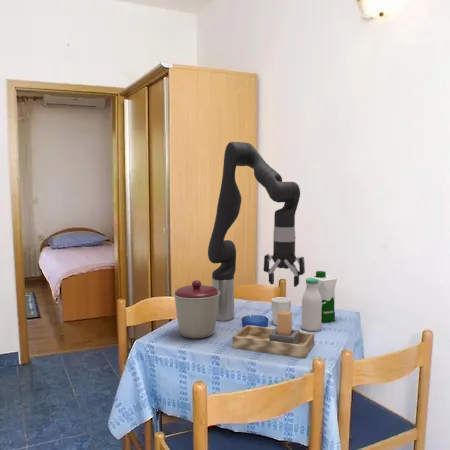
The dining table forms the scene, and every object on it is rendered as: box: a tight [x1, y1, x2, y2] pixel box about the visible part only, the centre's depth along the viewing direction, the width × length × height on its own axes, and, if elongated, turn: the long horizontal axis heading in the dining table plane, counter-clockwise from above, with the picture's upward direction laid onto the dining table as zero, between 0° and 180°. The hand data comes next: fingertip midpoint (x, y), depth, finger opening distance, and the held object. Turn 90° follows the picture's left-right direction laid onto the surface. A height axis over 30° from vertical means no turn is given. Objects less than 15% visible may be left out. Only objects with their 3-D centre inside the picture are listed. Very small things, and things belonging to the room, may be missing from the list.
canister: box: [172, 279, 220, 339], centre depth 182 cm, size 18×18×21 cm
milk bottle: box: [301, 277, 322, 332], centre depth 188 cm, size 8×8×20 cm
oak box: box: [232, 324, 315, 359], centre depth 170 cm, size 26×14×4 cm, turn 67°
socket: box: [269, 327, 301, 345], centre depth 168 cm, size 9×9×5 cm
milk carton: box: [310, 270, 338, 324], centre depth 199 cm, size 9×9×20 cm
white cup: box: [271, 296, 292, 326], centre depth 195 cm, size 8×8×10 cm
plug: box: [276, 311, 293, 336], centre depth 168 cm, size 4×4×12 cm
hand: (283, 285), depth 167 cm, fingers open, 8 cm apart
